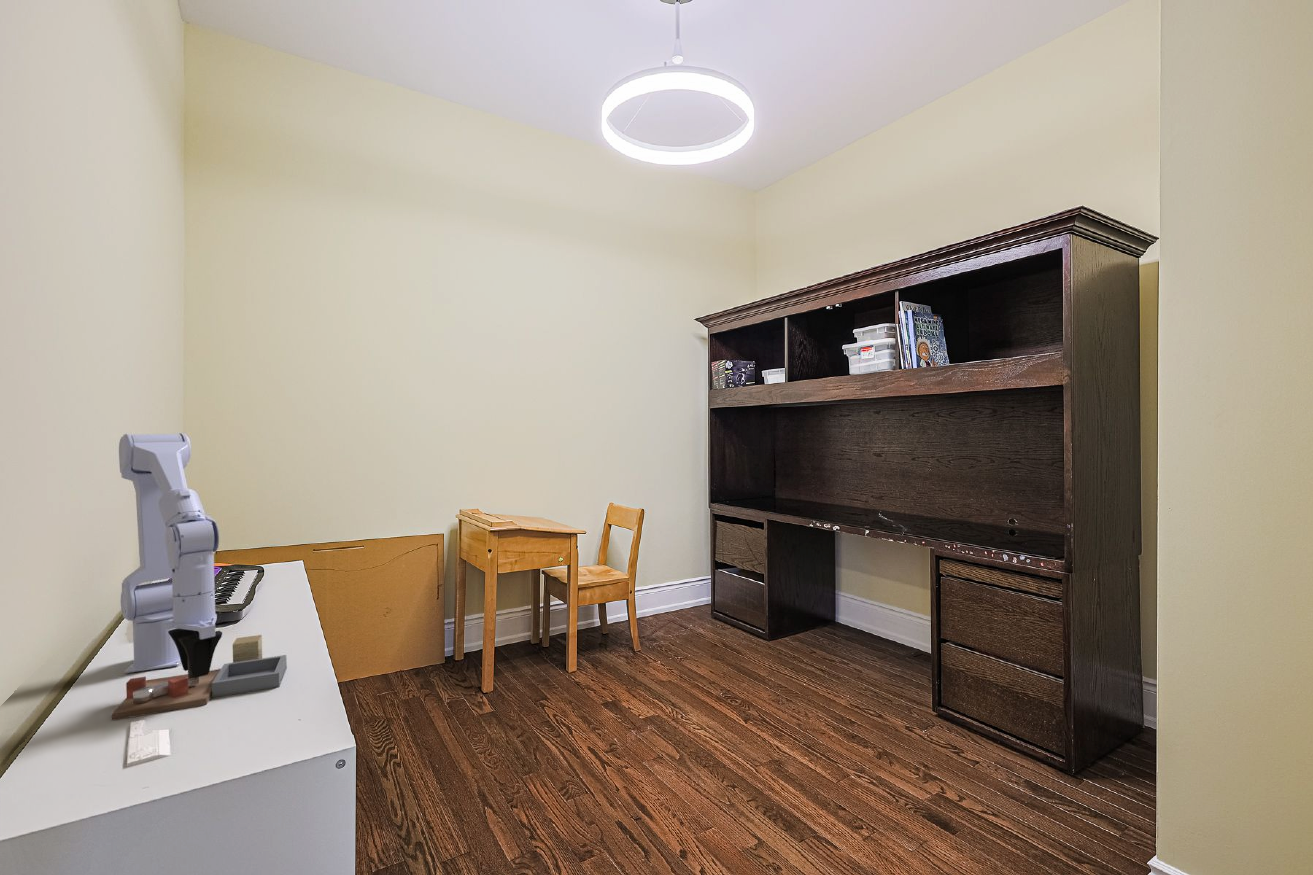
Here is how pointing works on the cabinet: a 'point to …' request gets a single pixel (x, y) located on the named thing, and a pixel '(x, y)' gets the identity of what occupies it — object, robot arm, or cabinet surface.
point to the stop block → (247, 648)
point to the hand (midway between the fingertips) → (196, 672)
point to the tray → (249, 676)
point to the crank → (158, 689)
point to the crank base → (166, 695)
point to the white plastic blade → (146, 744)
